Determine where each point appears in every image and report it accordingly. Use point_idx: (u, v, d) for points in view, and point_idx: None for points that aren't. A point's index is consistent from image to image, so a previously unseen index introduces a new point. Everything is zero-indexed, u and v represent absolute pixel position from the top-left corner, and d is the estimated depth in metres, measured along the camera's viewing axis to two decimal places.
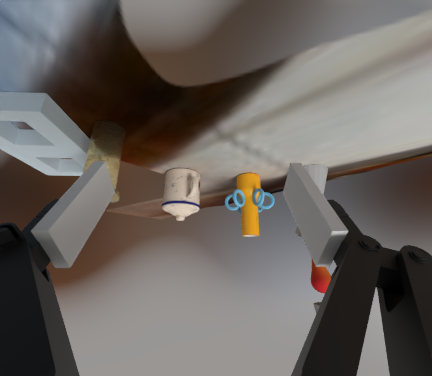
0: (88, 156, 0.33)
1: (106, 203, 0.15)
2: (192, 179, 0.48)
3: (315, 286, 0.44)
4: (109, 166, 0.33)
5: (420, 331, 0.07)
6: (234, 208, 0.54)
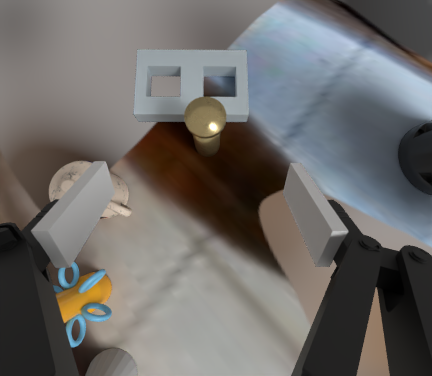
0: None
1: (106, 203, 0.15)
2: (131, 210, 0.38)
3: None
4: (215, 139, 0.36)
5: (420, 331, 0.07)
6: (63, 278, 0.31)
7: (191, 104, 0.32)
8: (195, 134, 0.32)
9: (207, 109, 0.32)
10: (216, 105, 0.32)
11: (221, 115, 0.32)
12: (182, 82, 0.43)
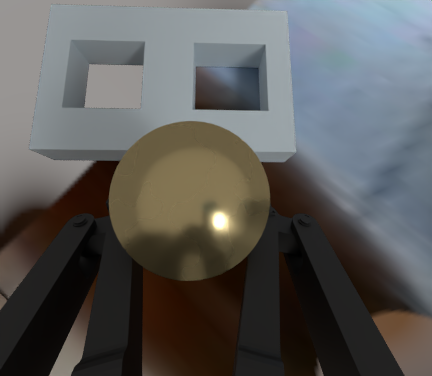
0: None
1: None
2: None
3: None
4: None
5: (319, 288, 0.08)
6: None
7: (139, 150, 0.09)
8: None
9: (199, 168, 0.09)
10: (232, 155, 0.09)
11: (251, 194, 0.09)
12: (147, 77, 0.19)
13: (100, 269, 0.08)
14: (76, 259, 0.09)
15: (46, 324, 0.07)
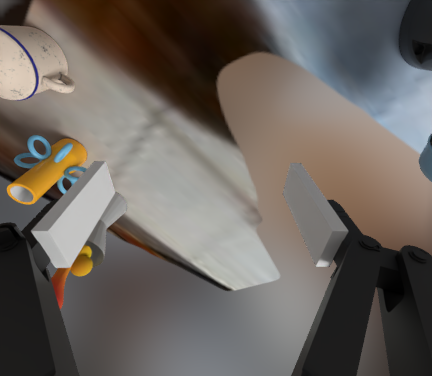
0: None
1: (106, 203, 0.15)
2: (73, 83, 0.35)
3: None
4: None
5: (420, 331, 0.07)
6: (36, 153, 0.37)
7: None
8: None
9: None
10: None
11: None
12: None
13: None
14: None
15: None
